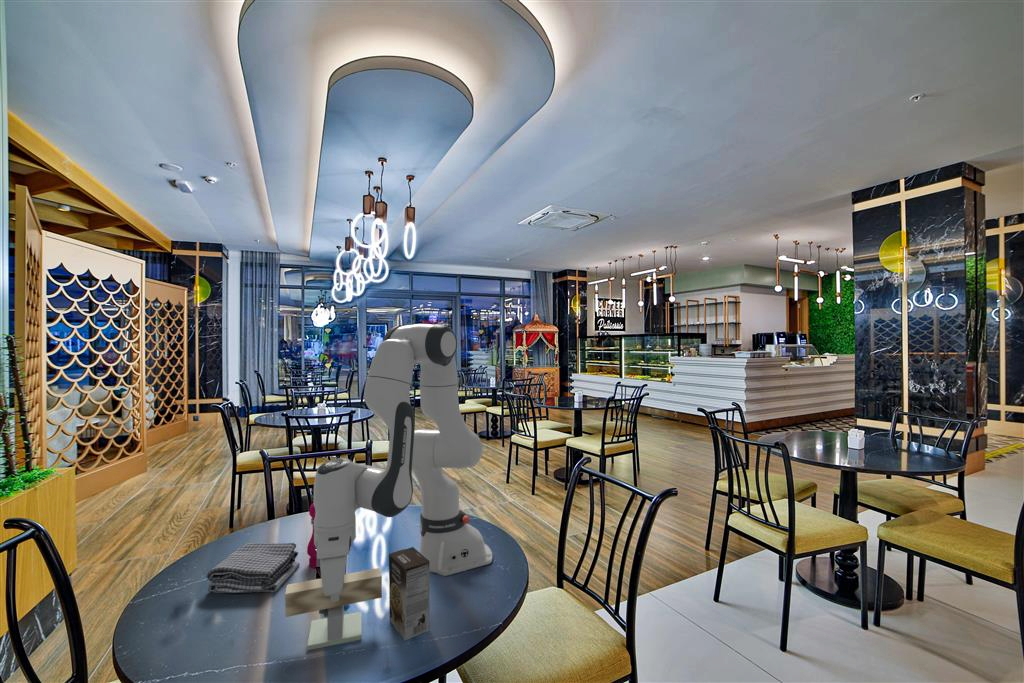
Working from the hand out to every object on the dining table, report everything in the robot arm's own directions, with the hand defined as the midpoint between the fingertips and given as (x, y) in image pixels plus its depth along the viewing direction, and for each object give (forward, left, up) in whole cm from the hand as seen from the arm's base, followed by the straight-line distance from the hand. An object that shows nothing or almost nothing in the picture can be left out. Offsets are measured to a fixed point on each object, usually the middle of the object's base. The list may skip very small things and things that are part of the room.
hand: (335, 593), depth 103 cm
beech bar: (0, 0, -2) cm, 2 cm away
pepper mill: (+6, -35, -9) cm, 37 cm away
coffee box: (-16, +3, -9) cm, 19 cm away
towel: (+22, -31, -9) cm, 39 cm away
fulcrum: (0, 0, -9) cm, 9 cm away
